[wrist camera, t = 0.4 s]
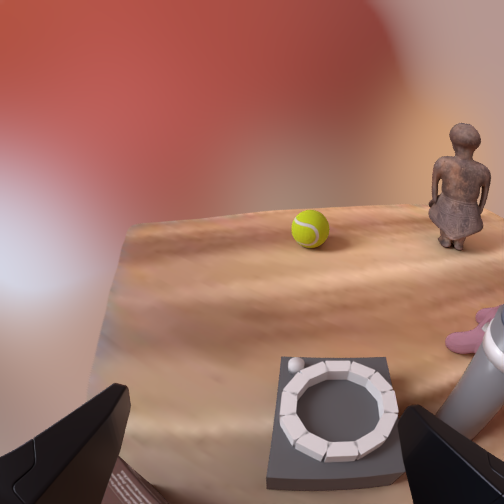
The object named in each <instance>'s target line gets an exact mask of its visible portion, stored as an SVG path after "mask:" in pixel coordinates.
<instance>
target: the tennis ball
mask: <svg viewBox="0 0 504 504" xmlns="http://www.w3.org/2000/svg"><path fill="white" fill-rule="evenodd" d="M292 235H293V237H294V239H295V240H296V242H297V243H298V244H300V245H301V246H303V247H306V248H315V247H318V246H320V245H321V244H323V243H324V242H325V240H326V239H327V237H328V235H329V224H328V221H327V219H326V218H325V216H324V215H323V214H321V213H320V212H318V211H315V210H306V211H303V212H301V213H299V214H298V215H297V216H296V218H295V219H294V220H293V223H292Z"/></svg>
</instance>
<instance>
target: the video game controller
mask: <svg viewBox="0 0 504 504" xmlns="http://www.w3.org/2000/svg"><path fill="white" fill-rule="evenodd" d="M500 306H501V305H499V306H497V307H493V308H484V309H481V310H480V311H478V312H477V314H476V321H477V322H478V323H479V325H478V326H477V327H476V328H474V329H473V330H470V331H466V332H455V333H452V334H449V335H448V336H447V338H446V340H445V343H446V346H447V348H448V349H449V350H451V351H453V352H455V353H459V354H468V353H476V352H477V350H478V348H479V346H480V344H481V343H482V341H483V336H484V334H485V332H486V330H487V328H488V326H489V324H490V322H491V320H492V319H493V318H494V317H495V314H496V312H497V310H498V308H499V307H500Z"/></svg>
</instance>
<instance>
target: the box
mask: <svg viewBox="0 0 504 504" xmlns="http://www.w3.org/2000/svg"><path fill="white" fill-rule="evenodd" d="M101 504H169V503H168V502H167V501H166V499H165V498H163V497H162V496H161V495H160V493H158V492H157V491H156V490H155V488H154V487H153V486H152V485H151V484H150V483H149V482H148V481H146V480H145V479H144V478H143V477H142V476H141V475H139V474H138V473H137V472H136V471H135V470H134V469H132V468H131V467H130V466H129V465H128V464H127V463H126V462H125V461H124V460H123V459H122V458H120V457H119V456H118V458H117V461H116V464H115V466H114V469H113V472H112V474H111V477H110V480H109V483H108V485H107V488H106V491H105V494H104V497H103V500H102V503H101Z"/></svg>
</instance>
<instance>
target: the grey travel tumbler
mask: <svg viewBox="0 0 504 504" xmlns="http://www.w3.org/2000/svg"><path fill="white" fill-rule="evenodd" d="M503 405H504V304H503V305H501V306H500V307H499V308H498V310H497V312H496V314H495V317H494V318H493V319H492V320H491V322H490V324H489V326H488V328H487V330H486V332H485V334H484V336H483V341H482V343H481V344H480V346H479V348H478V350H477V352H476V354H475V355H474V357H473V359H472V360H471V362H470V364H469V366H468V367H467V369H466V371H465V372H464V374H463V375H462V377H461V379H460V380H459V382H458V383H457V385H456V386H455V388H454V389H453V391H452V392H451V394H450V395H449V397H448V398H447V399H446V401H445V402H444V404H443V405H442V406H441V408H440V409H439V411H438V412H437V413H436V415H435V416H436V417H438V418H439V419H440V420H442V421H443V422H445V423H446V424H448V425H449V426H451V427H452V428H453V429H455V430H456V431H458V432H459V433H461V434H462V435H464V436H465V437H467V438H468V439H470V440H472V439H473V438H474V437H475V436H476V435H477V434H478V433H479V432H480V431H481V430H482V429H483V428H484V427H485V426H486V424H487V423H488V422H489V421H490V420H491V419H492V418H493V417H494V416H495V415H496V413H497V412H498V411H499V410H500V409H501V408H502V406H503Z"/></svg>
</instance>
